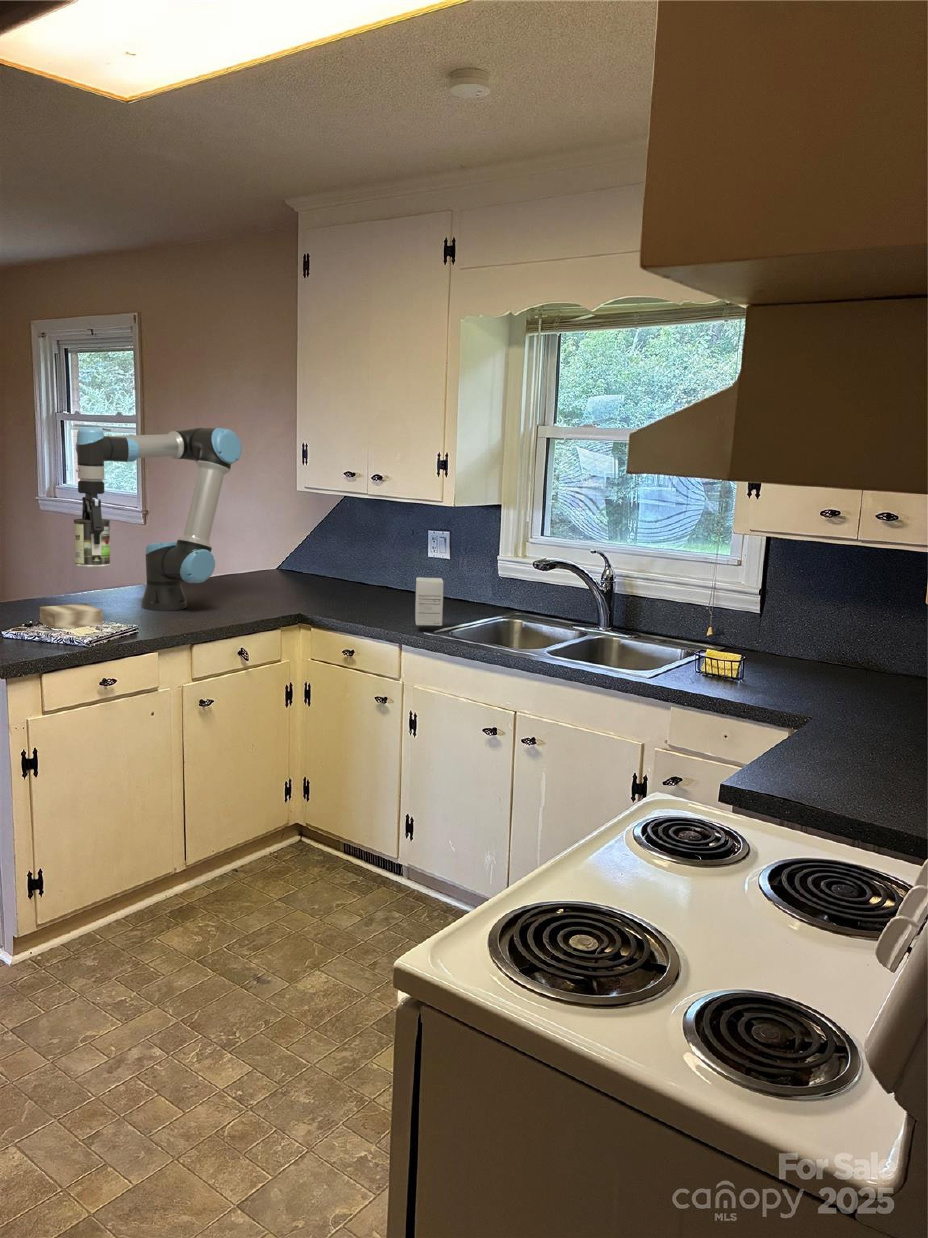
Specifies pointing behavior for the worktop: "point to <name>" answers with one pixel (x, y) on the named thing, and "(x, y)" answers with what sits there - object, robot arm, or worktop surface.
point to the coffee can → (84, 544)
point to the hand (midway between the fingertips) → (92, 553)
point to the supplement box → (429, 601)
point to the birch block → (71, 616)
